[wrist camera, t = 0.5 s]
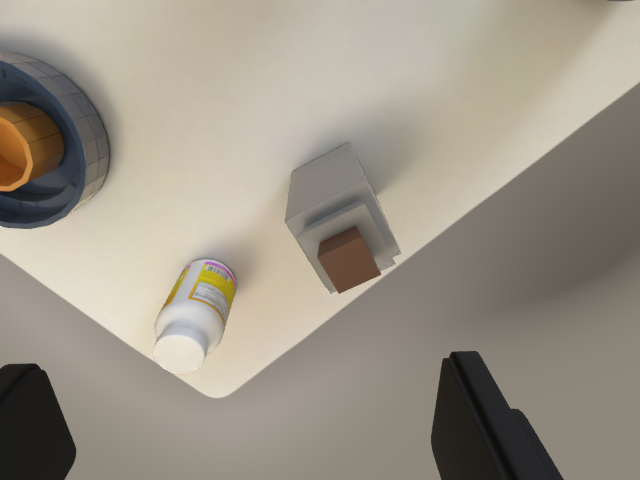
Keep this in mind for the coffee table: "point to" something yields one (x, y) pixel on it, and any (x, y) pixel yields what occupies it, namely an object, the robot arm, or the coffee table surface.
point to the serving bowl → (79, 140)
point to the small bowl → (27, 144)
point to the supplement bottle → (194, 316)
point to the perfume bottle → (339, 221)
